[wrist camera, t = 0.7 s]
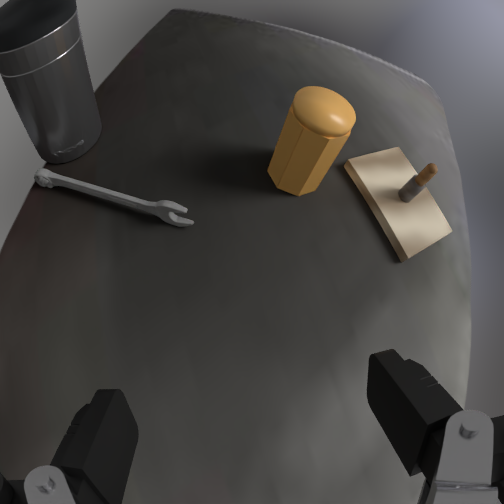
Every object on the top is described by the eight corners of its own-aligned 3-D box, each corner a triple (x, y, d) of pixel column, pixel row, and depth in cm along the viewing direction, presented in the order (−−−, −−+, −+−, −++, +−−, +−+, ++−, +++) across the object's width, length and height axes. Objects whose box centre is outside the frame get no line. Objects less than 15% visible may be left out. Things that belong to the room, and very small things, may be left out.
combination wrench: (28, 171, 28) (189, 219, 28) (33, 162, 28) (194, 207, 29) (40, 188, 31) (190, 236, 32) (45, 180, 32) (194, 225, 32)
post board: (343, 166, 38) (372, 123, 31) (393, 152, 42) (423, 116, 34) (401, 262, 35) (445, 233, 27) (445, 235, 38) (485, 207, 30)
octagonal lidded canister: (260, 159, 37) (282, 89, 26) (302, 148, 38) (332, 84, 28) (284, 200, 35) (317, 135, 25) (327, 186, 37) (367, 125, 27)
